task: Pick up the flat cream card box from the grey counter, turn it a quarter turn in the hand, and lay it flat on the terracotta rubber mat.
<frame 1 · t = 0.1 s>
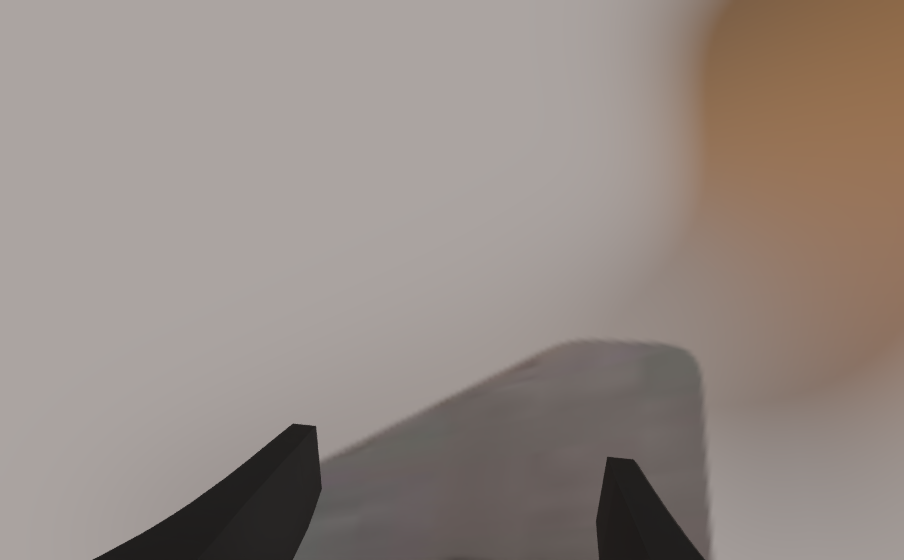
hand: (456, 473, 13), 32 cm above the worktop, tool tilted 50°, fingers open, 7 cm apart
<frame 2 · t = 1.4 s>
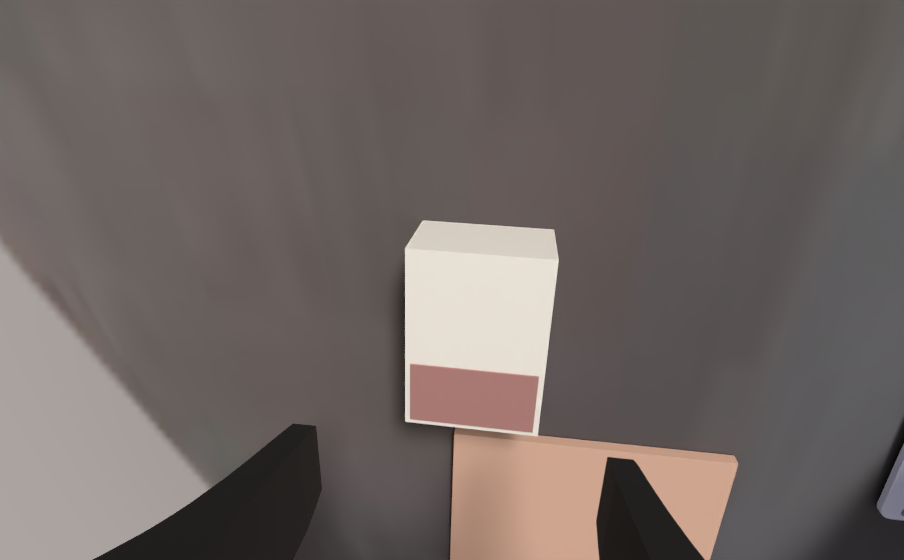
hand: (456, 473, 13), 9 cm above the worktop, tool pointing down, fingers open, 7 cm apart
mat: (577, 525, 25), on the worktop
card box: (482, 305, 22), on the worktop
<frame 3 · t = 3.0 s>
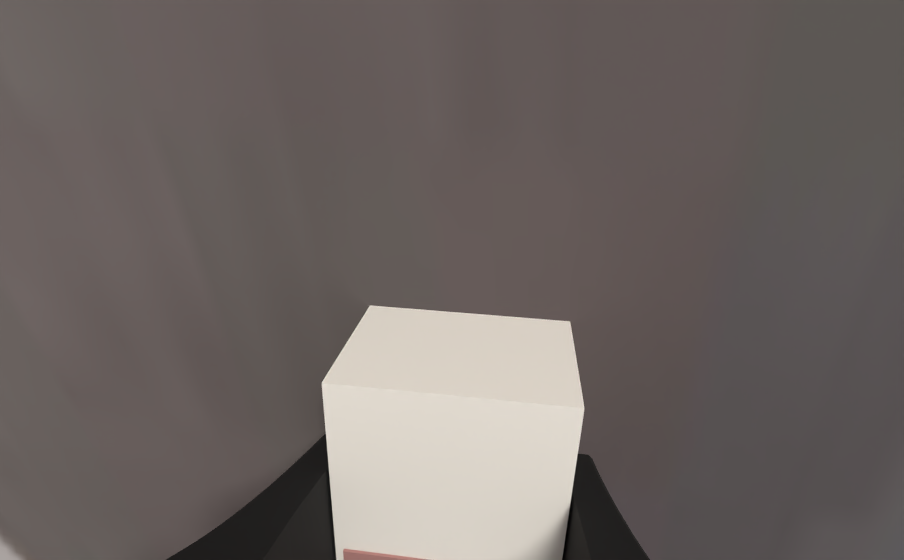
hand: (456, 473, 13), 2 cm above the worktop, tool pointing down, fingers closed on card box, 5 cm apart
card box: (463, 427, 15), on the worktop, touching gripper
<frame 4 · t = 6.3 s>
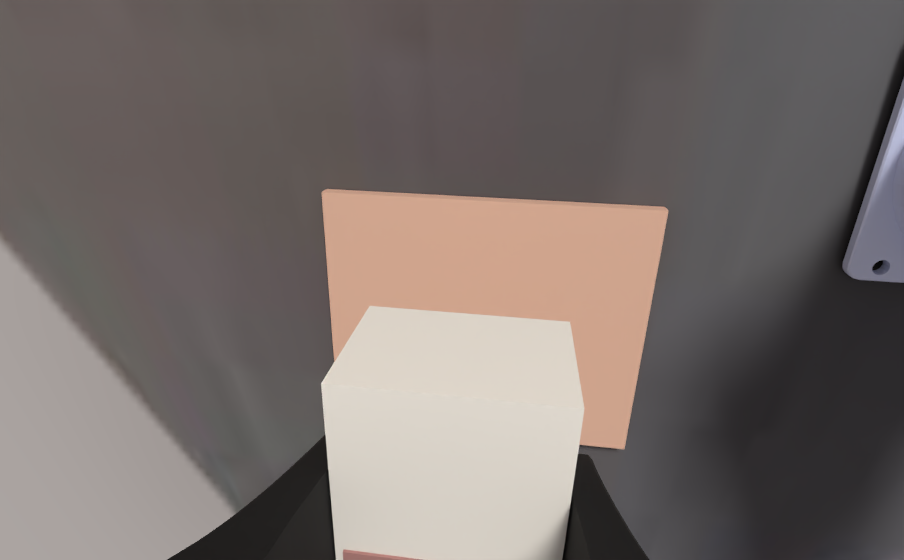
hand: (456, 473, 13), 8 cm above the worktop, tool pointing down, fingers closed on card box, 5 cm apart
mat: (483, 322, 21), on the worktop
card box: (463, 427, 15), point 7 cm above the worktop, touching gripper
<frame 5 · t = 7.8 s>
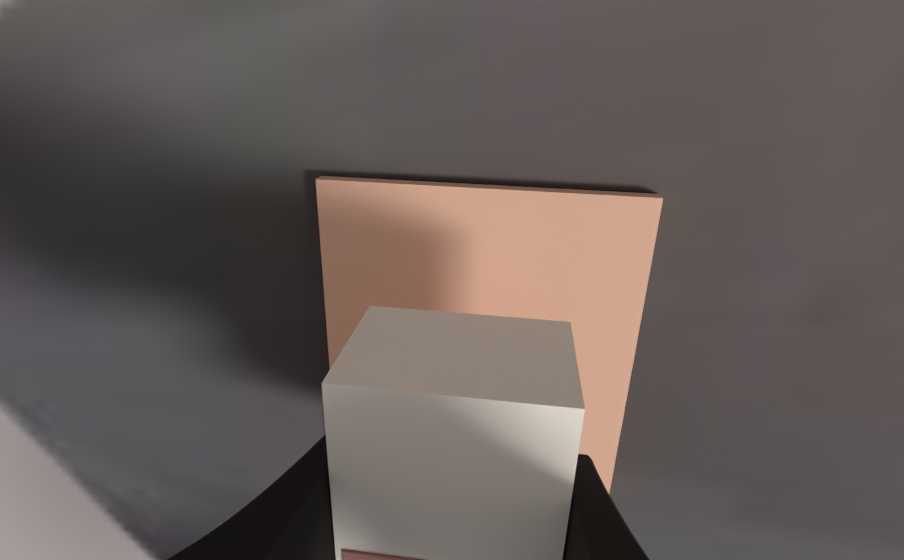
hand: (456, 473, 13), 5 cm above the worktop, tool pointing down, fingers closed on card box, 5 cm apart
mat: (475, 359, 18), on the worktop
card box: (463, 428, 15), point 4 cm above the worktop, touching gripper
when the fingers open (3 cm above the worktop, at t = 9.3 s): card box stays where it is, resting on mat.
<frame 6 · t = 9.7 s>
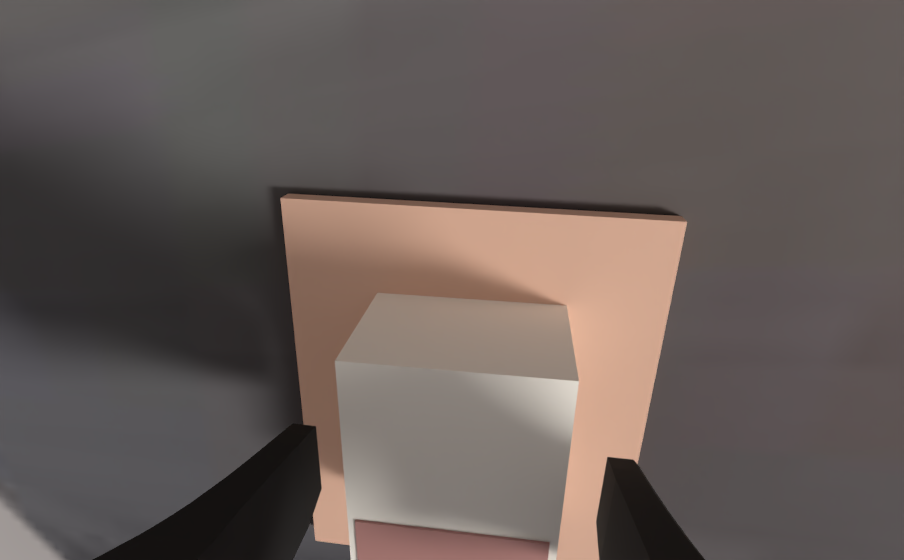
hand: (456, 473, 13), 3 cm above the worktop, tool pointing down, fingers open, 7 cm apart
mat: (468, 400, 16), on the worktop
card box: (466, 408, 15), resting on mat
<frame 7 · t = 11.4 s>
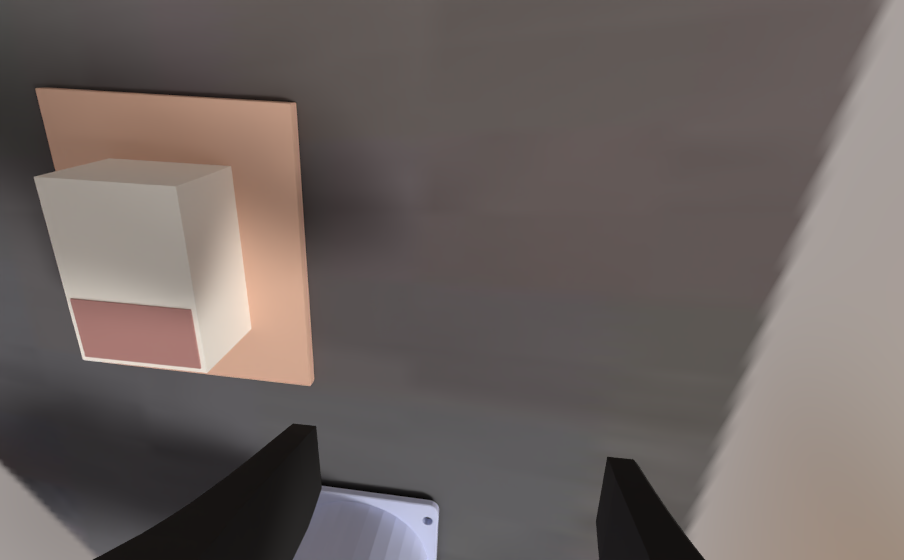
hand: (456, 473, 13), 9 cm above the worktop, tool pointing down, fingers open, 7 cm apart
mat: (191, 245, 22), on the worktop
card box: (184, 247, 22), resting on mat
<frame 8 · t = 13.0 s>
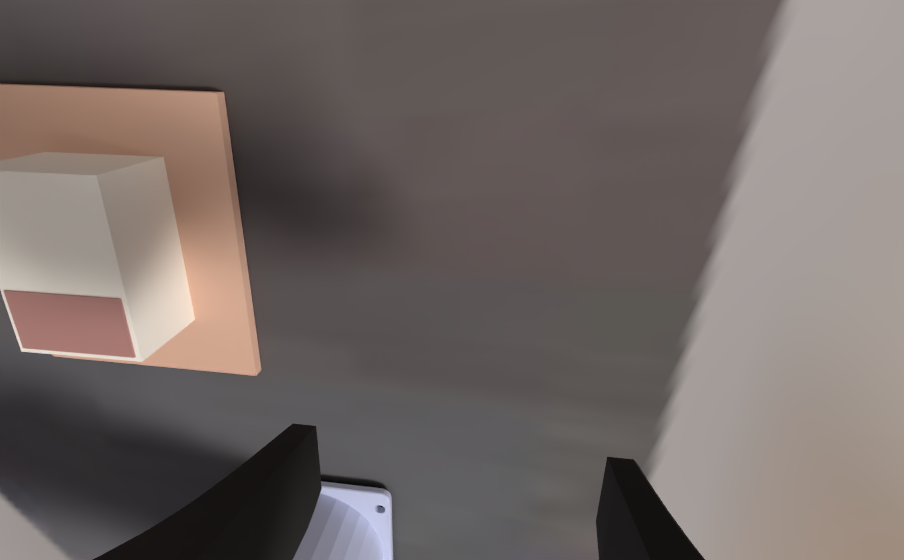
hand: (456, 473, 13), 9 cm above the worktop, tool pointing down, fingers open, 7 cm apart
mat: (132, 237, 23), on the worktop
card box: (123, 239, 22), resting on mat
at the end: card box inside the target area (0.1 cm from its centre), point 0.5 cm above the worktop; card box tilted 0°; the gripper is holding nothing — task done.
